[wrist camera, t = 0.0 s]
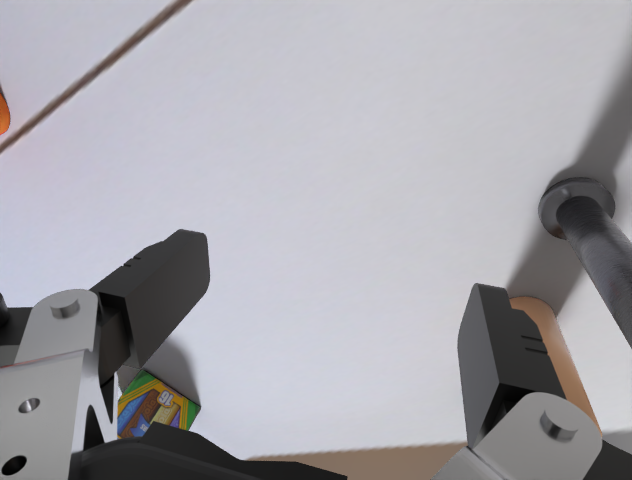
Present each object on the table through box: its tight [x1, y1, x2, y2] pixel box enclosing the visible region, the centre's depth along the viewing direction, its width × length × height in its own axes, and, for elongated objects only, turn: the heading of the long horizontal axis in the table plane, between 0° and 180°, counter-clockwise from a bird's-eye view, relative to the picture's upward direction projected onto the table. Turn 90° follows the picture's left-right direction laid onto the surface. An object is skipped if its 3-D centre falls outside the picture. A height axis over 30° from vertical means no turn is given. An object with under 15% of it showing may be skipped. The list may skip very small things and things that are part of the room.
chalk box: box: [117, 370, 201, 439], centre depth 45 cm, size 9×9×15 cm
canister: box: [509, 297, 602, 437], centre depth 26 cm, size 4×4×10 cm
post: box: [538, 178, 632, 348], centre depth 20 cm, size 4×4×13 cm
